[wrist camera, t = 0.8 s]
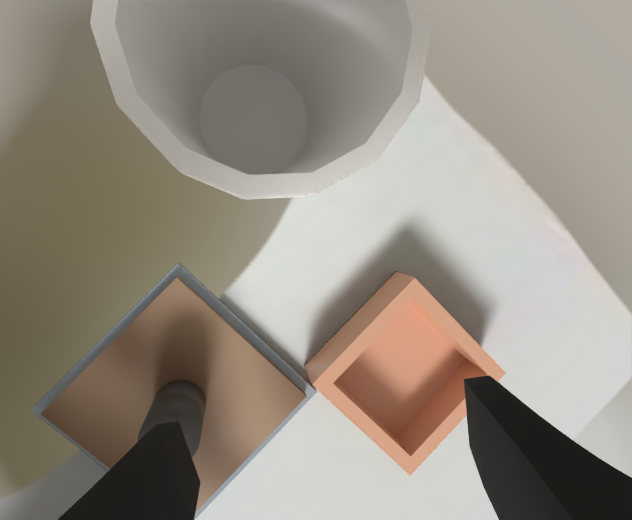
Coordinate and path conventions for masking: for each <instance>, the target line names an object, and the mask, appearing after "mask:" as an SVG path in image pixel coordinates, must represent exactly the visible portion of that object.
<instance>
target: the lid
mask: <svg viewBox="0 0 632 520" xmlns="http://www.w3.org/2000/svg"><path fill="white" fill-rule="evenodd" d="M306 397H307V396H306V394H305V392H304V391H303V390H302V389H301V388H299V387H298V386H297V385H296V384H295V383H294V382H293V381H292V380H291V379H290V378H289V377H287V376H286V375H285V374H284V373H283V372H282V371H281V370H280V369H279V368H278V367H277V366H275V365H274V364H273V363H272V362H271V361H270V360H269V359H268V358H267V357H266V356H265V355H263V354H262V353H261V352H260V351H259V350H258V349H257V348H256V347H255V346H254V345H253V344H251V343H250V342H249V341H248V340H247V339H246V338H245V337H244V336H243V335H242V334H241V333H239V332H238V331H237V330H236V329H235V328H234V327H233V326H232V325H231V324H230V323H229V322H227V321H226V320H225V319H224V318H223V317H222V316H221V315H220V314H219V313H218V312H217V311H215V310H214V309H213V308H212V307H211V306H210V305H209V304H208V303H207V302H206V301H205V300H203V299H202V298H201V297H200V296H199V295H198V294H197V293H196V292H195V291H194V290H193V289H191V288H190V287H189V286H188V285H187V284H186V283H185V282H184V281H183V280H182V279H181V278H179V277H177V278H176V279H175V280H174V281H173V282H172V283H171V284H170V285H169V286H168V287H167V288H166V289H165V290H164V291H163V292H162V293H161V294H160V295H159V296H158V297H157V298H156V299H155V300H154V301H153V302H152V303H151V304H150V305H149V306H148V307H147V308H146V309H145V310H144V311H143V312H142V313H141V314H140V315H139V316H138V317H137V318H136V319H135V320H134V321H133V322H132V323H131V324H130V325H129V326H128V327H127V328H126V329H125V330H124V331H123V332H122V333H121V334H120V335H119V336H118V337H117V338H116V339H115V340H114V341H113V342H112V343H111V344H110V345H109V346H108V347H107V348H106V349H105V350H104V351H103V352H102V353H101V354H100V355H99V356H98V357H97V358H96V359H95V360H94V361H93V362H92V363H91V364H90V365H89V366H88V367H87V368H86V369H85V370H84V371H83V372H82V373H81V374H80V375H79V376H78V377H77V378H76V379H75V380H74V381H73V382H72V383H71V384H70V385H69V386H68V387H67V388H66V389H65V390H64V391H63V392H62V393H61V394H60V395H59V396H58V397H57V398H56V399H55V400H54V401H53V402H52V403H51V404H50V405H49V406H48V407H47V408H46V409H45V410H44V411H43V412H42V413H41V415H42V416H43V417H44V418H46V419H47V420H48V421H50V422H51V423H52V424H53V425H55V426H56V427H57V428H59V429H60V430H61V431H62V432H64V433H65V434H66V435H67V436H69V437H70V438H71V439H73V440H74V441H75V442H76V443H78V444H79V445H80V446H82V447H83V448H84V449H85V450H87V451H88V452H89V453H90V454H92V455H93V456H94V457H96V458H97V459H98V460H99V461H101V462H102V463H103V464H105V465H106V466H107V467H108V468H110V469H111V468H112V467H113V466H114V465H115V464H116V463H117V462H118V461H119V460H120V459H121V458H122V457H123V456H124V455H125V454H126V453H127V452H128V451H129V450H130V449H131V448H132V447H133V446H134V445H135V444H136V443H137V442H138V441H139V440H140V439H141V438H142V437H143V436H144V435H145V434H146V433H147V432H148V431H149V430H150V429H152V428H153V427H154V426H155V425H156V424H162V423H169V422H176V421H179V423H180V426H181V429H182V431H183V434H184V437H185V440H186V443H187V446H188V448H189V451H190V454H191V457H192V460H193V463H194V465H195V468H196V471H197V474H198V477H199V479H200V482H201V483H200V489H199V495H198V501H197V507H196V512H197V511H198V509H199V508H200V507H201V506H202V505H203V504H204V503H205V502H206V501H207V500H208V499H209V498H210V497H211V496H212V495H213V494H214V493H215V492H216V491H217V490H218V489H219V488H220V486H221V485H222V484H223V483H224V482H225V481H226V480H227V479H228V478H229V477H230V476H231V475H232V474H233V473H234V472H235V471H236V470H237V469H238V468H239V467H240V466H241V465H242V464H243V462H244V461H245V460H246V459H247V458H248V457H249V456H250V455H251V454H252V453H253V452H254V451H255V450H256V449H257V448H258V447H259V446H260V445H261V444H262V443H263V442H264V441H265V440H266V438H267V437H268V436H269V435H270V434H271V433H272V432H273V431H274V430H275V429H276V428H277V427H278V426H279V425H280V424H281V423H282V422H283V421H284V420H285V419H286V418H287V417H288V416H289V414H290V413H291V412H292V411H293V410H294V409H295V408H296V407H297V406H298V405H299V404H300V403H301V402H302V401H303V400H304V399H305V398H306ZM196 512H195V513H196Z"/></svg>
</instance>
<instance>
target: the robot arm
mask: <svg viewBox="0 0 632 520" xmlns="http://www.w3.org/2000/svg"><path fill="white" fill-rule="evenodd" d="M464 389H465V400H466V411H467V422H468V433H469V444H470V448H471V451H472V454H473V457H474V460H475V463H476V466H477V469H478V472H479V475H480V477H481V480H482V483H483V486H484V488H485V490H486V493H487V495H488V497H489V499H490V501H491V503H492V505H493V508H494V510H495V512H496V514H497V516H498V518H499V520H632V478H631V477H629V476H627V475H626V474H624V473H622V472H621V471H619V470H617V469H615V468H614V467H612V466H610V465H609V464H607V463H606V462H604V461H602V460H601V459H599V458H598V457H596V456H595V455H593V454H592V453H590V452H589V451H587V450H586V449H584V448H583V447H581V446H580V445H579V444H577V443H576V442H574V441H573V440H571V439H570V438H569V437H567V436H566V435H564V434H563V433H562V432H560V431H559V430H558V429H556V428H555V427H554V426H552V425H551V424H550V423H548V422H547V421H546V420H544V419H543V418H542V417H540V416H539V415H538V414H536V413H535V412H534V411H533V410H531V409H530V408H529V407H528V406H526V405H525V404H524V403H523V402H521V401H520V400H519V399H518V398H516V397H515V396H514V395H513V394H512V393H510V392H509V391H508V390H507V389H506V388H504V387H503V386H502V385H501V384H500V383H498V382H497V381H496V380H495V379H493V378H492V377H491V376H489V375H487V376H481V377H474V378H467V379H464ZM200 483H201V482H200V479H199V477H198V474H197V471H196V468H195V465H194V463H193V460H192V457H191V454H190V451H189V448H188V446H187V443H186V440H185V437H184V434H183V431H182V429H181V426H180V423H179V421H176V422H169V423H162V424H156V425H155V426H154V427H153V428H152V429H150V430H149V431H148V432H147V433H146V434H145V435H144V436H143V437H142V438H141V439H140V440H139V441H138V442H137V443H136V444H135V445H134V446H133V447H132V448H131V449H130V450H129V451H128V452H127V453H126V454H125V455H124V456H123V457H122V458H121V459H120V460H119V461H118V462H117V463H116V464H115V465H114V466H113V467H112V468H111V469H110V470H109V471H108V472H107V473H106V474H105V475H104V476H103V477H102V478H101V479H100V480H99V481H98V482H97V483H96V484H95V485H94V486H93V487H92V488H91V489H90V490H89V491H88V492H87V493H86V494H85V495H84V496H83V497H82V498H80V499H79V500H78V501H77V502H76V503H75V504H74V505H73V506H72V507H71V508H70V509H69V510H68V511H67V512H65V513H64V514H63V515H62V516H61V517H60V518H59V519H58V520H194V517H195V512H196V507H197V501H198V495H199V489H200Z"/></svg>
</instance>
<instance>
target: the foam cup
mask: <svg viewBox="0 0 632 520" xmlns="http://www.w3.org/2000/svg"><path fill="white" fill-rule="evenodd" d="M90 25H91V28H92V31H93V34H94V37H95V40H96V43H97V47H98V49H99V53H100V56H101V58H102V61H103V65H104V68H105V71H106V74H107V77H108V80H109V83H110V86H111V89H112V92H113V95H114V98H115V101H116V104H117V106H118V107H119V108H120V109H121V110H122V111H123V112H124V113H125V114H126V115H127V116H128V118H129V119H130V120H131V121H132V122H133V123H134V124H135V125H136V126H137V127H138V128H139V130H141V132H142V133H143V134H144V135H145V136H146V137H147V138H148V139H149V140H150V141H151V142H152V144H153V145H154V146H155V147H156V148H157V149H158V150H159V151H160V152H161V153H162V154H163V156H164V157H165V158H166V159H167V160H168V161H169V162H170V163H171V164H172V165H173V166H174V167H175V168H176V169H178V170H179V171H180V172H181V173H182V174H184V175H187V176H189V177H191V178H194V179H196V180H198V181H201V182H203V183H206V184H208V185H210V186H213V187H215V188H217V189H220V190H222V191H225V192H227V193H230V194H232V195H234V196H237V197H239V198H241V199H263V198H286V197H306V196H309V195H312V194H315V193H318V192H320V191H322V190H324V189H325V188H327V187H329V186H331V185H333V184H334V183H336V182H338V181H340V180H342V179H344V178H345V177H347V176H349V175H351V174H353V173H354V172H356V171H358V170H360V169H362V168H363V167H365V166H367V165H369V164H371V163H373V162H374V161H376V160H378V159H379V158H380V157H381V155H382V154H383V152H384V151H385V149H386V148H387V147H388V145H389V144H390V142H391V141H392V139H393V138H394V137H395V135H396V134H397V132H398V131H399V129H400V128H401V127H402V125H403V124H404V122H405V121H406V119H407V118H408V117H409V115H410V114H411V112H412V111H413V109H414V108H415V107H416V105H417V104H418V102H419V99H420V93H421V88H422V82H423V77H424V71H425V66H426V60H427V55H428V49H429V44H430V38H431V33H432V27H431V23H430V19H429V15H428V10H427V6H426V1H425V0H93V6H92V13H91V20H90Z"/></svg>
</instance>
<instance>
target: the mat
mask: <svg viewBox="0 0 632 520" xmlns="http://www.w3.org/2000/svg"><path fill="white" fill-rule="evenodd" d="M177 277H179V278H181V279H182V280H183V281H184V282H185V283H186V284H187V285H188V286H189V287H190V288H191V289H193V290H194V291H195V292H196V293H197V294H198V295H199V296H200V297H201V298H202V299H203V300H205V301H206V302H207V303H208V304H209V305H210V306H211V307H212V308H213V309H214V310H215V311H217V312H218V313H219V314H220V315H221V316H222V317H223V318H224V319H225V320H226V321H227V322H229V323H230V324H231V325H232V326H233V327H234V328H235V329H236V330H237V331H238V332H239V333H241V334H242V335H243V336H244V337H245V338H246V339H247V340H248V341H249V342H250V343H251V344H253V345H254V346H255V347H256V348H257V349H258V350H259V351H260V352H261V353H262V354H263V355H265V356H266V357H267V358H268V359H269V360H270V361H271V362H272V363H273V364H274V365H275V366H277V367H278V368H279V369H280V370H281V371H282V372H283V373H284V374H285V375H286V376H287V377H289V378H290V379H291V380H292V381H293V382H294V383H295V384H296V385H297V386H298V387H299V388H301V389H302V390H303V391H304V392H305V394H306V396H307V397H306V398H305V399H304V400H303V401H302V402H301V403H300V404H299V405H298V406H297V407H296V408H295V409H294V410H293V411H292V412H291V413H290V414H289V416H288V417H287V418H286V419H285V420H284V421H283V422H282V423H281V424H280V425H279V426H278V427H277V428H276V429H275V430H274V431H273V432H272V433H271V434H270V435H269V436H268V437H267V438H266V440H265V441H264V442H263V443H262V444H261V445H260V446H259V447H258V448H257V449H256V450H255V451H254V452H253V453H252V454H251V455H250V456H249V457H248V458H247V459H246V460H245V461H244V462H243V464H242V465H241V466H240V467H239V468H238V469H237V470H236V471H235V472H234V473H233V474H232V475H231V476H230V477H229V478H228V479H227V480H226V481H225V482H224V483H223V484H222V485H221V486H220V488H219V489H218V490H217V491H216V492H215V493H214V494H213V495H212V496H211V497H210V498H209V499H208V500H207V501H206V502H205V503H204V504H203V505H202V506H201V507H200V508H199V509H198V511H197V512H196V513H195V517H194V520H195V519H196V518H197V517H198V516H199V515H200V514H201V512H202V511H203V510H204V509H205V508H206V507H207V506H208V505H209V504H210V503H211V502H212V501H213V500H214V499H215V498H216V497H217V496H218V495H219V494H220V493H221V492H222V491H223V489H224V488H225V487H226V486H227V485H228V484H229V483H230V482H231V481H232V480H233V479H234V478H235V477H236V476H237V475H238V474H239V473H240V472H241V471H242V470H243V469H244V468H245V467H246V465H247V464H248V463H249V462H250V461H251V460H252V459H253V458H254V457H255V456H256V455H257V454H258V453H259V452H260V451H261V450H262V449H263V448H264V447H265V446H266V445H267V444H268V442H269V441H270V440H271V439H272V438H273V437H274V436H275V435H276V434H277V433H278V432H279V431H280V430H281V429H282V428H283V427H284V426H285V425H286V424H287V423H288V422H289V421H290V419H291V418H292V417H293V416H294V415H295V414H296V413H297V412H298V411H299V410H300V409H301V408H302V407H303V406H304V405H305V404H306V403H307V402H308V401H309V400H310V399H311V398H312V396H313V395H314V394H315V393H316V392H317V391H316V389H315V388H314V387H313V386H312V385H311V384H310V383H309V382H308V381H306V380H305V379H304V378H303V377H302V376H301V375H300V374H299V373H298V372H297V371H296V370H295V369H293V368H292V367H291V366H290V365H289V364H288V363H287V362H286V361H285V360H284V359H283V358H282V357H281V356H279V355H278V354H277V353H276V352H275V351H274V350H273V349H272V348H271V347H270V346H269V345H268V344H266V343H265V342H264V341H263V340H262V339H261V338H260V337H259V336H258V335H257V334H256V333H255V332H253V331H252V330H251V329H250V328H249V327H248V326H247V325H246V324H245V323H244V322H243V321H242V320H240V319H239V318H238V317H237V316H236V315H235V314H234V313H233V312H232V311H231V310H230V309H229V308H228V307H226V306H225V305H224V304H223V303H222V302H221V301H220V300H219V299H218V298H217V297H216V296H214V295H213V294H212V293H211V292H210V291H209V290H208V289H207V288H206V287H205V286H204V285H203V284H202V283H200V282H199V281H198V280H197V279H196V278H195V277H194V276H193V275H192V274H190V272H189V271H187V270H186V269H185V268H184V267H183V266H182V265H181V264H180V263H178V264H177V265H176V266H175V267H174V268H173V269H172V270H171V271H170V272H169V273H168V274H167V275H166V276H164V277H163V278H162V279H161V280H160V282H159V283H158V284H156V286H155V287H154V288H153V289H151V291H149V293H147V295H146V296H144V298H142V300H140V301H139V302H138V303H137V304H136V306H134V307H133V308H132V309H131V310H130V312H129V313H127V314H126V315H125V316H124V317H123V318H122V319H121V320H120V321H119V322H118V323H117V324H116V325H115V326H114V327H113V328H112V329H111V330H110V331H109V332H108V333H107V334H106V335H105V336H104V337H103V338H102V339H101V340H100V341H99V342H98V343H97V344H96V345H95V346H94V347H93V348H92V349H91V350H90V351H89V353H87V354H86V355H85V356H84V357H83V358H82V359H81V360H80V361H79V362H78V363H77V364H76V365H75V366H74V367H73V368H72V369H71V370H70V371H69V372H68V373H67V374H66V375H65V376H64V377H63V378H62V379H61V380H60V381H59V382H58V383H57V384H56V385H55V386H54V387H53V388H52V389H51V390H50V391H49V392H48V393H47V394H46V395H45V396H44V397H43V398H42V399H41V400H40V401H39V402H38V403H37V404H36V405H35V406H34V407H33V408H32V409H31V411H32V412H33V413H35V414H36V415H37V416H38V417H40V418H41V419H42V420H44V421H45V422H46V423H47V424H49V425H50V426H51V427H53V428H54V429H55V430H56V431H58V432H59V433H60V434H62V435H63V436H64V437H65V438H67V439H68V440H69V441H70V442H72V443H73V444H74V445H76V446H77V447H78V448H79V449H81V450H82V451H83V452H85V453H86V454H87V455H88V456H90V457H91V458H92V459H94V460H95V461H96V462H97V463H99V464H100V465H101V466H103V467H104V468H105V469H106V470H108V471H109V470H110V468H108V467H107V466H106V465H105V464H103V463H102V462H101V461H99V460H98V459H97V458H96V457H94V456H93V455H92V454H90V453H89V452H88V451H87V450H85V449H84V448H83V447H82V446H80V445H79V444H78V443H76V442H75V441H74V440H73V439H71V438H70V437H69V436H67V435H66V434H65V433H64V432H62V431H61V430H60V429H59V428H57V427H56V426H55V425H53V424H52V423H51V422H50V421H48V420H47V419H46V418H44V417H43V416H42V415H41V413H42V412H43V411H44V410H45V409H46V408H47V407H48V406H49V405H50V404H51V403H52V402H53V401H54V400H55V399H56V398H57V397H58V396H59V395H60V394H61V393H62V392H63V391H64V390H65V389H66V388H67V387H68V386H69V385H70V384H71V383H72V382H73V381H74V380H75V379H76V378H77V377H78V376H79V375H80V374H81V373H82V372H83V371H84V370H85V369H86V368H87V367H88V366H89V365H90V364H91V363H92V362H93V361H94V360H95V359H96V358H97V357H98V356H99V355H100V354H101V353H102V352H103V351H104V350H105V349H106V348H107V347H108V346H109V345H110V344H111V343H112V342H113V341H114V340H115V339H116V338H117V337H118V336H119V335H120V334H121V333H122V332H123V331H124V330H125V329H126V328H127V327H128V326H129V325H130V324H131V323H132V322H133V321H134V320H135V319H136V318H137V317H138V316H139V315H140V314H141V313H142V312H143V311H144V310H145V309H146V308H147V307H148V306H149V305H150V304H151V303H152V302H153V301H154V300H155V299H156V298H157V297H158V296H159V295H160V294H161V293H162V292H163V291H164V290H165V289H166V288H167V287H168V286H169V285H170V284H171V283H172V282H173V281H174V280H175V279H176V278H177Z"/></svg>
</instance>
